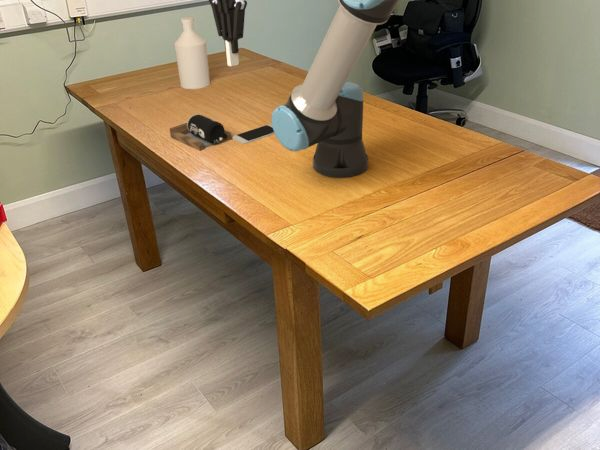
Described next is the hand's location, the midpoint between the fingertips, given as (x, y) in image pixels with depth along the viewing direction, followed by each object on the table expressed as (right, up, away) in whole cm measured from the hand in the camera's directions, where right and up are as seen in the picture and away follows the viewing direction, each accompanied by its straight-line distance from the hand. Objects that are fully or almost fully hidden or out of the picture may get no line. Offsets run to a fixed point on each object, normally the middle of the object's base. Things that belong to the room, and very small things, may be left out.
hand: (233, 64), depth 156 cm
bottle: (-23, +12, +74) cm, 78 cm away
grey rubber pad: (-12, -16, +25) cm, 33 cm away
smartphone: (+4, -15, +28) cm, 32 cm away
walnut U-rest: (-12, -16, +25) cm, 33 cm away
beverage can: (-7, -15, +19) cm, 25 cm away
